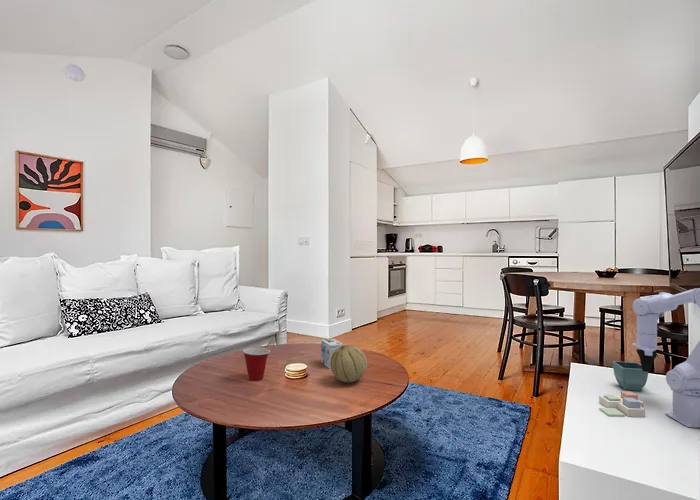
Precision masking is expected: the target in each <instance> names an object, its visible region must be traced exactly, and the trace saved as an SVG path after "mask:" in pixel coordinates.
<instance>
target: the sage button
mask: <svg viewBox="0 0 700 500" xmlns="http://www.w3.org/2000/svg"><path fill="white" fill-rule="evenodd" d="M603 396H604V398H606V399H607V400H609V401H621V399H620V398H618V397H617V396H618V395H615V394H603Z"/></svg>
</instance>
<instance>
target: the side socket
mask: <svg viewBox="0 0 700 500" xmlns="http://www.w3.org/2000/svg"><path fill="white" fill-rule="evenodd" d="M617 410H618V411H620V412H621V413H623V414H624V415H625V416H626V417H629V418H630V417H633V418H646V409H645V408H644V407H643V408H642V407H640V409H636V408H628V407H626V406H625V405H623V403H618V409H617Z"/></svg>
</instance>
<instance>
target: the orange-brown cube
mask: <svg viewBox="0 0 700 500" xmlns="http://www.w3.org/2000/svg"><path fill="white" fill-rule="evenodd" d="M620 396H621V398H622V399H623V398H634V399H636V400H639V395H638V394H636V393H635V392H633V391H631V390H626V391H623V390H622V391H620Z"/></svg>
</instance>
